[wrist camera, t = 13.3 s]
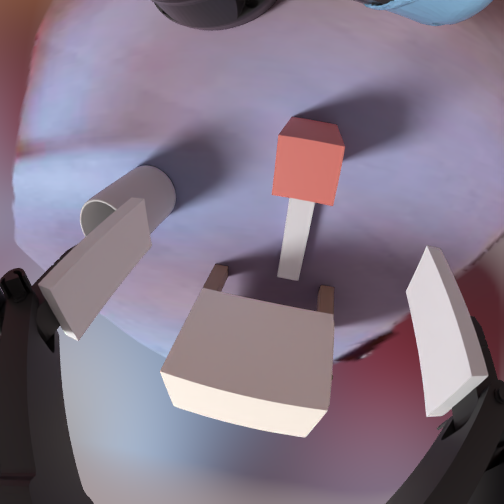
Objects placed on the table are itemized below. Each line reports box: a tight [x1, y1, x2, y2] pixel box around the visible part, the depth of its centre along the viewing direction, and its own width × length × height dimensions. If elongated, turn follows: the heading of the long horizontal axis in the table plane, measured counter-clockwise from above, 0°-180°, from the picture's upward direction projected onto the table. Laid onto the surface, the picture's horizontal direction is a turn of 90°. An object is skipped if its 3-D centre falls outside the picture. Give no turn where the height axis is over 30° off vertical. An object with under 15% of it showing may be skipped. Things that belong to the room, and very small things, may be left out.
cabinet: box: [160, 264, 334, 437], centre depth 37 cm, size 10×19×20 cm, turn 86°
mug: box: [80, 165, 176, 237], centre depth 35 cm, size 12×8×11 cm
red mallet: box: [272, 117, 345, 281], centre depth 30 cm, size 22×5×11 cm, turn 176°
